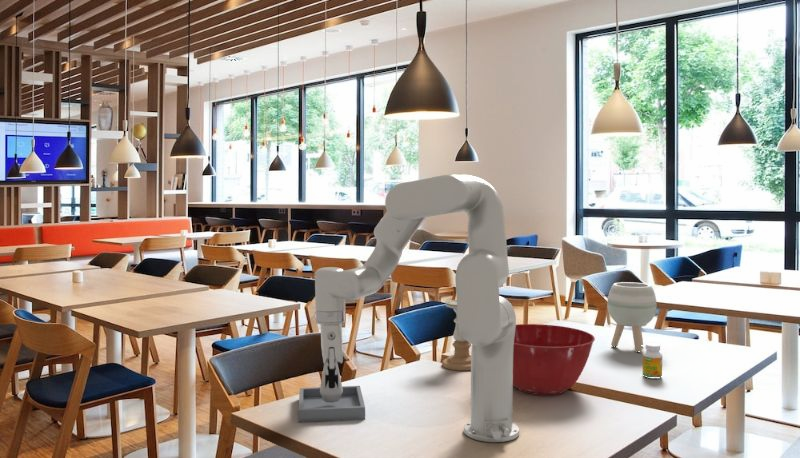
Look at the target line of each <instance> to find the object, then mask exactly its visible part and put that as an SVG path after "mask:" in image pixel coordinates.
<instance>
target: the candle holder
mask: <svg viewBox="0 0 800 458" xmlns="http://www.w3.org/2000/svg"><path fill="white" fill-rule="evenodd" d="M445 306H446V308H450V309H453V311H454V312H455V314H456V316H455V318H454V319H453V322H454V323H455V327H454V331H453V334H452V337H453V340H454V341H453V342H452V347H453V348H454V352H453V354H451V355H449V356H448V357H446V358H445V359H443V360H442V363H441V364H442V367H444V368H445V369H447V370H450V371H451V370H452V371H459V372H463V371H464V372H465V371H467V372H468V371H471V355H470V349H471V347H472V344H471V343H469V342H468V341H467V340H466V339H465V338H464V337H463V335H462V333H461V331H460V328H459V323H458V312H457V299H451V300H447V301H445Z"/></svg>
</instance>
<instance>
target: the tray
mask: <svg viewBox="0 0 800 458" xmlns="http://www.w3.org/2000/svg"><path fill="white" fill-rule="evenodd" d="M320 387H321V386H318V387H299V395H298V396H299V398H298V423H313V422H314V423H316V422H335V421H336V422H338V421H339V422H340V421H357V420H358V421H359V420H361V421H362V420H366V406H365V401H364V397H363V393H362V389H361V385H346V386H345V385H344V386H343V385H342V388H343V393H342V395H341V397H340V399H339V401H337V402H333V403H331V402H325V401H324V400H323V398H322V396H321V394H320Z"/></svg>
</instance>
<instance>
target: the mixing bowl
mask: <svg viewBox="0 0 800 458" xmlns="http://www.w3.org/2000/svg"><path fill="white" fill-rule="evenodd" d="M595 337H596V336H594V335H593V334H591V333H589V332H588V331H585V330H581V329H578V328H573V327H569V326H562V325H553V324H552V325H551V324H537V323H536V324H535V323H519V324H517V323H516V328H515V337H514V350H513V387H515V388H517V389H518V390H519V391H522V392H524V393H528V394H532V395H541V396H542V395H543V396H553V395H560V394H562V393H564V392H566V391H567V390H569V389H571V388H572V387H573V386H574V385H575V384H576V383H577V381H578V380H579V378H580V376H581V375H582V373H583V371H584V369H585V368H586V365H587V363H588V360H589V357H590V353H591V351H592V347H593V343H594V342H595V340H596V338H595Z"/></svg>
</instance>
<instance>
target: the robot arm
mask: <svg viewBox="0 0 800 458" xmlns="http://www.w3.org/2000/svg"><path fill="white" fill-rule="evenodd" d="M384 204H385V210H386V212H385V214H384V215H383V217H382V218H381V219H380V220H379V222H378V223H377V225H376V226H375V227H374V230H373V235H374V237H375V239H376V244H375V247H374V248H373V251H372V252H371V254H370V256H369V257H368V258H367V260H366V261H365V262H364V264H363V265H362V266H358V267H355V268H351V269H350V268H349V269H346V270H345V269H343V268H341V267H336V266H335V267H334V266H328V267H326V266H325V267H321V268H318V269H317V270H316V271H315V273H314V291H315V292H314V294H315V296H314V297H315V324H317V325H319V326H320V346H321V347H320V348H321V356H323V357H322V362H323V364H324V363H325V364H326V375H325V388H326V386H327V383H328V381H329V388H334V387H335V382H336V384H337V387H338V374H337V363H340V364H343V362H344V361H343V360H344V358H343V357H344V355H343V326H342V324H345V323H346V319H347V318H346V315H347V314H346V301H356V300H357V301H358V300H360V299H362V298H365V297H367V296H368V297H369V296H372V295H373V294H376V293H377V292H379V291H380V290H381V288H383V287H384V285H385V284H386V283H387V281H388V279H389V278H390V277H391V275H392V274H393V273H394V271H395V270H396V268H397V266H398V265H399V261H400V260H401V257H402V254H403V250H404V249H405V247H406V246H407V244H408V243H409V242H410V240H411V239H412V238H413V236H414V235H415V233H416V232H417V231H418V229H419V228H420V227H421V226H422V225H423V223H424V221H425V220H426V219H427V218H428V217H434V216H441V215H447V214H456V213H462V212H464V213H466V214H467V217H468V218H467V219H468V223H467V239H468V254H465V256H463V257H462V258H461V260H460V261H459V262H458V264H457V267H456V271H455V294H456V300H457V312H458V323H459V328H460V331H461V333H462V335H463V337H464V338H465V339H466V340H467V341H468V342H469V343H471V352H470V353H471V370H470V421H468V422H466V423H465V424H464V426H463V432H464V435H466V437H468V438H470V439H473V440H476V441H479V442H486V443H504V442H505V443H506V442H510V441H513V440H515V439H516V438H518V437H519V435H520V428H519V426H518V425H517V424H515V423H513V422H514V421H513V416H514V414H513V409H514V408H513V406H514V405H513V404H514V403H513V401H514V390H513V389H514V385H513V350H514V337H515V328H516V325H517V316H516V315H517V314H516V311H515V309H514V306H513V305H512V303H511V302H510V301H509V300H508V299H507V298H505V297H503V296H501V295H500V288H501V287H502V286H503V285H504V284H505V283H506V282H507V280H508V277H509V273H510V271H509V269H510V268H509V260H508V247H507V246H508V245H507V236H506V226H505V223H506V222H505V212H504V211H505V210H504V206H503V202H502V198H501V197H500V194H499V193H498V191H497V190H496V188H494V187H493V186H492V185H491V183H489V182H488V181H486V180H485V179H482V178H480V177H478V176H473V175H471V174H460V173H459V174H452V173H451V174H443V175H442V174H441V175H437V176H433V177H432V176H431V177H426V178H423V179H418V180H412V181H411V180H410V181H406V182H400V183H396V184H395V185H394V186H392V187H391V188H390V189H389V190H388V192H387V193H386V197H385V200H384ZM327 357H328V361H329V362H327ZM334 360H335V362H334ZM334 365H335V366H334Z"/></svg>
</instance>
